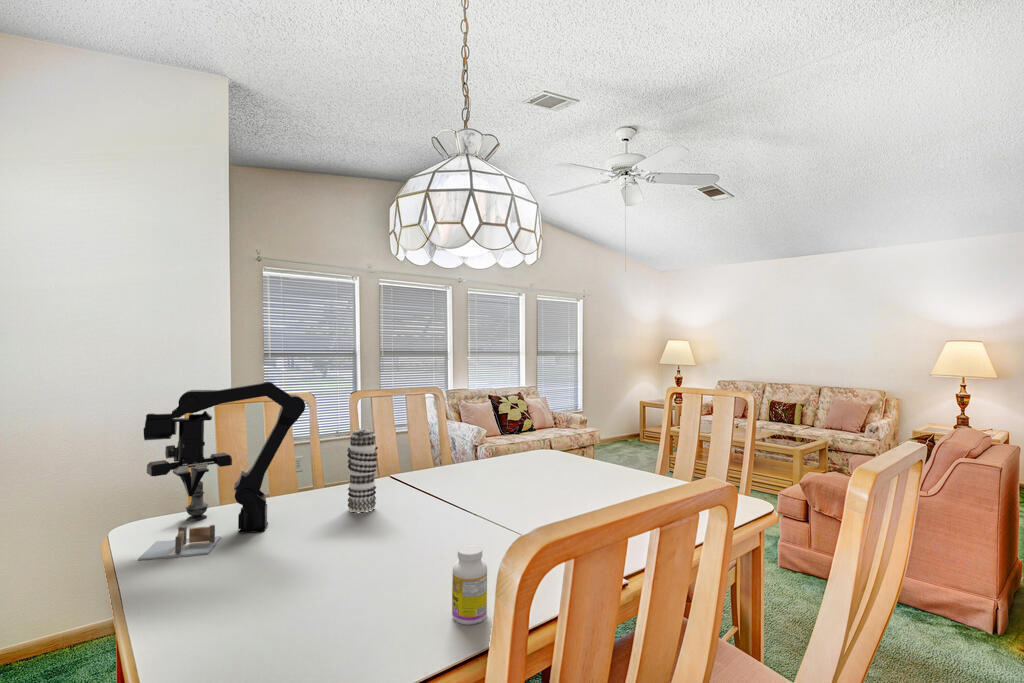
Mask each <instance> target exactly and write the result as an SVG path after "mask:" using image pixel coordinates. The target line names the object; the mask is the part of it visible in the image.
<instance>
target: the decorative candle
mask: <svg viewBox="0 0 1024 683" xmlns="http://www.w3.org/2000/svg"><path fill="white" fill-rule="evenodd" d="M376 435H377V433H375V432H374V430H373V429H370V428H358V429H355V430H353V431H352V433H351V434H349V437H350V441H349V443H350V444H349V447H348V448H347V452H348V453H347V457H348V460H347V464H348V465H347V468H348V474H349V484H348V488H347V491H348V493H347V495H348V498H347V502H348V504H347V507H348V509H347V511H348V510H349V511H350V512H349V511H348V512H349V513H351V512H366V511H370V510H373V509H374V508H375V509H376V504H377V502H376V501H377V500H376V499H377V496H375V495H376V493H377V492H376V488H377V486H376V480H375V473H377V469H376V468H377V467H378V466H377V464H376V463H375V462H376V461H377V460H378V458H377V456H378V453H377V452H376V451H377V450H378V449H379V448H378V446H376Z"/></svg>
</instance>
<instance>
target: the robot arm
mask: <svg viewBox="0 0 1024 683" xmlns="http://www.w3.org/2000/svg"><path fill="white" fill-rule="evenodd" d="M261 397H262V398H263V397H267V398H268V399H270V400H272V401H273V402H275V403H276V404H277V405H279V406H280V409H279V412H278V415H277V419H276V422H275V424H274V426H273V428H272V430H271V431H270V433H269V436H268V437H267V439H266V441H265V442H264V444H263V445H262V448H261V450H260V451H259V453H258V455H257V457H256V459H255V460H254V462H253V464H252V466H251V467H250V468H249V469H248V471H247V472H245V471H244V470H241V472H240V475H239V478H238V479H237V481H235V482H234V488H233V490H234V499H235V501H236V502H237V504H239V505H241V508H240V512H239V514H238V516H237V518H238V519H237V520H238V523H237V527H238V528H237V529H238V530H239V531H238V534H244V533H258V532H265V531H266V529H267V528H268V525H269V522H268V504H267V499H266V498H267V497H266V494H265V493H264V492H263V490H261V488H262V485H263V481H264V477H265V474H266V472H267V470H268V468H269V467H270V465H271V463H272V462H273V459H274V458H275V455H276V454H277V452H278V450H279V448H280V446H281V444H283V440H285V438H286V436H287V434H288V432H289V430H290V428H291V427H292V426H294V424H295V423H296V422H297V421H298V420H299V418H300V416H302V414H303V413H304V411H305V409H306V403H305V401H304V399H303V398H302V397H301V396H299V395H297V394H290V393H288V392H286V391H284V390H283V389H281V388H279V386H277V385H275V384H274V383H273V382H272V381H269V380H268V381H267V380H266V381H264V382H260V383H255V384H246V385H243V386H235V387H229V388H224V389H191V390H187V391H186V392H184V393H183V394H182V395H181V396H180V397H179V399H178V406H177V407H176V408H175V409H173V410H172V411H171V413H147V414H146V417H145V421H144V428H143V439H144V441H155V440H156V441H158V440H171V439H172V437H173V436H174V435H177V429H178V441H177V447H176V445H174V444H173V445H171V444H170V445H166V446H165V454H164V455H165V459H173V462H170V461H167V460H165V459H164V460H163V459H162V460H156V461H155V460H154V461H149V463H147V465H146V474H147V475H149V476H150V477H159V476H166V475H168V474H169V473H170V472H171V471H172V473H173V474H174V475H175V476H177V477H180V479H181V482H182V483H183V486H184V489H185V491H186V494H187V496H188V497H189V498H191V496H193V494H194V492H195V490H196V488H197V486H198V484H199V482H200V481H201V480H202V478H203V476H204V475H205V474H206V473H208V472H210V469H208V467H209V465H211V466H212V465H217V466H218V467H220V468H222V467H230V466H232V465H233V457H232V455H230V454H228V453H226V452H219V453H212V454H211V455H210V456H209V457H206V458H205V455H204V453H205V449H204V448H205V447H204V446H205V444H206V442H205V421H212V419H213V416H212V415H211V414H209V412H207V409H210V408H213V407H215V406H218V405H221V404H226V403H227V404H229V403H233V402H239V401H245V400H250V399H256V398H261ZM201 411H203V413H197V412H201ZM186 414H189V415H188V417H184V416H185V415H186ZM182 417H184V418H182ZM177 426H178V428H177ZM189 468H190V471H189Z"/></svg>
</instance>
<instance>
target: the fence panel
mask: <svg viewBox="0 0 1024 683" xmlns="http://www.w3.org/2000/svg"><path fill="white" fill-rule="evenodd" d="M174 540H175V553H181V550H182V547H183V545H184V531H180V532H179V533H178V532H177V535H176V536H175V539H174Z"/></svg>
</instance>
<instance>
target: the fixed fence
mask: <svg viewBox="0 0 1024 683" xmlns="http://www.w3.org/2000/svg"><path fill="white" fill-rule="evenodd" d="M187 527H188V526H187V525H181V526H178V528H177V529H178V531H177V534H178V533H179V532H180V531H184V545H185V544H186V539H187V534H188V533H187V530H188V529H187ZM188 531H189V536H188V539H189V543H195V542H207V541H209V542H210V543H213V542H215V537H216V525H215V524H211V525H209V526H197V527H196V526H195V527H189V530H188Z"/></svg>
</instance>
